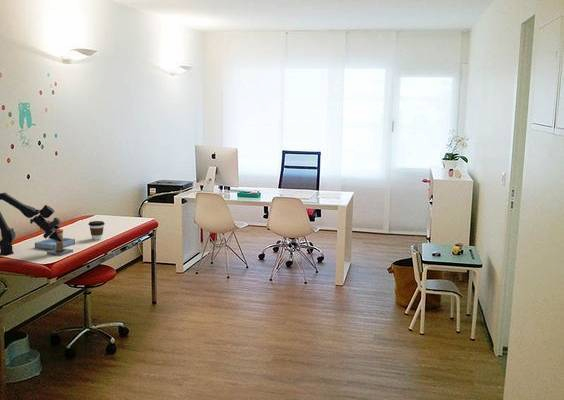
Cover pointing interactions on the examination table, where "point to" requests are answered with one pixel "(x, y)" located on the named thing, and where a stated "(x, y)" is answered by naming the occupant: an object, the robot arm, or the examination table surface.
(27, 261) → the examination table surface
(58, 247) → the pin
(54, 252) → the plate
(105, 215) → the examination table surface
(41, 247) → the pin tray
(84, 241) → the examination table surface
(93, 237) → the coffee cup
